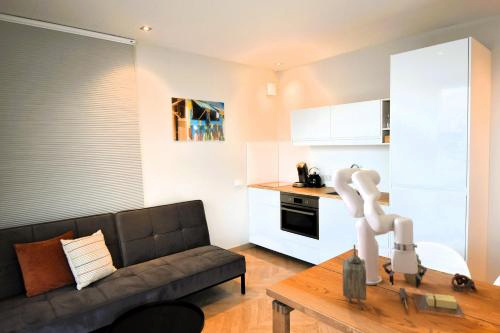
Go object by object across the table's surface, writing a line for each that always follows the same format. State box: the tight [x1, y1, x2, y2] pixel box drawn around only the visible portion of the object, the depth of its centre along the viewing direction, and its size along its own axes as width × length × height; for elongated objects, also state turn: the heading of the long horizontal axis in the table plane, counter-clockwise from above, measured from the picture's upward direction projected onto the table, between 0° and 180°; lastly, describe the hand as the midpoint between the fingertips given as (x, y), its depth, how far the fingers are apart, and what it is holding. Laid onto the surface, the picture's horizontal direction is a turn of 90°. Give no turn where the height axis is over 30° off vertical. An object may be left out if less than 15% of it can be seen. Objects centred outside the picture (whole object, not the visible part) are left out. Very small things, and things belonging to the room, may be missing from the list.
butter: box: [433, 293, 458, 309], centre depth 125 cm, size 7×5×3 cm
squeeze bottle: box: [403, 248, 424, 286], centre depth 147 cm, size 8×8×18 cm
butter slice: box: [425, 292, 434, 306], centre depth 127 cm, size 2×5×3 cm, turn 160°
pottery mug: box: [451, 272, 478, 293], centre depth 139 cm, size 12×10×8 cm
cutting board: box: [411, 292, 465, 317], centre depth 126 cm, size 16×14×1 cm
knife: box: [399, 287, 409, 313], centre depth 130 cm, size 2×18×3 cm, turn 160°
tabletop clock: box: [342, 244, 367, 310], centre depth 131 cm, size 14×9×25 cm, turn 163°
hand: (404, 285), depth 133 cm, fingers open, 9 cm apart
